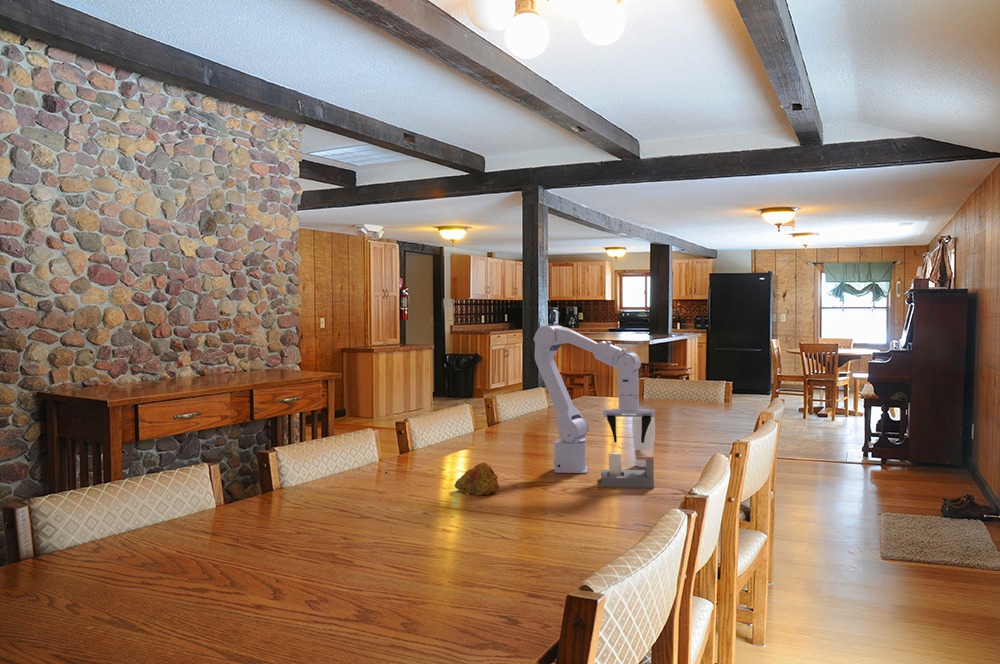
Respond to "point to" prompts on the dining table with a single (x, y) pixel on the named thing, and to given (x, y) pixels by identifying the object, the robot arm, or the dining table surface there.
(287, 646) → the dining table surface
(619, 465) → the peg
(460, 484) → the rock
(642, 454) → the socket station
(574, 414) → the robot arm
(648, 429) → the cream rounded cylinder
